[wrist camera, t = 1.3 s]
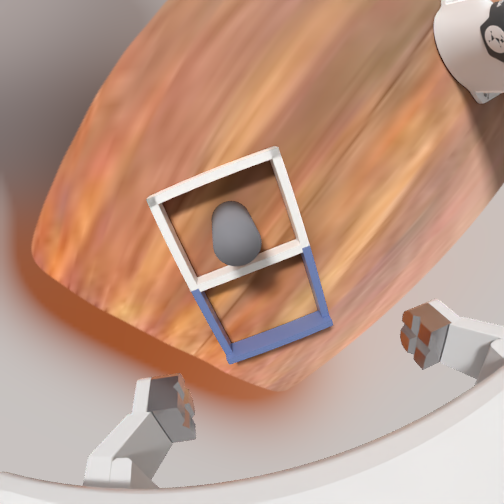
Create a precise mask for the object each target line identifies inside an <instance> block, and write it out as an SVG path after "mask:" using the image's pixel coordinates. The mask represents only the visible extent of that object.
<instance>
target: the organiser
mask: <svg viewBox="0 0 504 504" xmlns="http://www.w3.org/2000/svg"><path fill="white" fill-rule="evenodd" d="M268 160H270V162H271V165H272V168H273V171H274V174H275V177H276V180H277V182H278V185H279V188H280V191H281V194H282V197H283V200H284V203H285V206H286V209H287V212H288V215H289V218H290V221H291V224H292V227H293V231H294V234H295V237H296V239H295V240H292V241H290V242H287V243H285V244H282V245H280V246H277V247H274V248H272V249H269V250H267V251H264V252H262V253H259V254H258V255H257V257H256V258H255V259H254V260H253V261H251V262H250V263H248V264H246V265H243V266H230V265H228V266H226V267H223V268H220V269H218V270H215V271H213V272H210V273H208V274H205V275H202V276H200V277H197V276H196V274H195V272H194V270H193V268H192V266H191V264H190V262H189V260H188V258H187V255H186V253H185V251H184V249H183V247H182V245H181V243H180V241H179V239H178V237H177V234H176V232H175V230H174V228H173V226H172V224H171V222H170V219H169V217H168V215H167V213H166V211H165V208H164V206H163V204H162V202H164V201H167V200H169V199H171V198H174V197H176V196H178V195H181V194H183V193H185V192H188V191H190V190H193V189H195V188H197V187H200V186H202V185H205V184H207V183H210V182H212V181H215V180H217V179H220V178H222V177H225V176H227V175H230V174H232V173H235V172H238V171H240V170H243V169H246V168H248V167H251V166H254V165H256V164H259V163H262V162H265V161H268ZM146 201H147V203H148V205H149V207H150V209H151V211H152V214H153V216H154V218H155V220H156V222H157V224H158V226H159V229H160V231H161V233H162V235H163V237H164V239H165V241H166V243H167V245H168V247H169V249H170V251H171V253H172V255H173V257H174V259H175V261H176V263H177V265H178V267H179V269H180V271H181V273H182V275H183V277H184V279H185V281H186V283H187V285H188V287H189V289H190V290H191V292H192V294H193V296H194V298H195V300H196V302H197V304H198V306H199V307H200V309H201V311H202V313H203V315H204V317H205V318H206V320H207V322H208V324H209V326H210V327H211V329H212V331H213V333H214V335H215V336H216V338H217V340H218V342H219V343H220V345H221V347H222V349H223V350H224V352H225V354H226V358H227V361H228V363H229V365H230V364H233V363H236V362H239V361H241V360H244V359H247V358H250V357H253V356H256V355H259V354H261V353H264V352H267V351H270V350H272V349H275V348H278V347H280V346H283V345H285V344H288V343H291V342H293V341H296V340H298V339H301V338H303V337H306V336H308V335H311V334H313V333H316V332H318V331H320V330H323V329H325V328H328V327H330V326H332V325H333V322H332V319H331V318H330V316H329V313H328V309H327V305H326V301H325V298H324V294H323V290H322V287H321V283H320V279H319V276H318V272H317V269H316V265H315V262H314V258H313V255H312V251H311V248H310V245H309V241H308V238H307V235H306V231H305V228H304V225H303V221H302V218H301V215H300V212H299V209H298V205H297V202H296V199H295V196H294V193H293V190H292V187H291V184H290V181H289V178H288V175H287V172H286V169H285V166H284V163H283V160H282V157H281V154H280V151H279V148H278V147H276V146H273V147H270V148H267V149H264V150H262V151H259V152H256V153H253V154H250V155H248V156H245V157H242V158H240V159H237V160H234V161H232V162H229V163H226V164H224V165H221V166H219V167H216V168H214V169H211V170H209V171H206V172H204V173H201V174H199V175H196V176H194V177H192V178H189V179H187V180H184V181H182V182H180V183H177V184H175V185H173V186H170V187H168V188H166V189H164V190H161V191H159V192H157V193H155V194H152V195H150V196H149V197H148V198H147V199H146ZM300 253H301V256H302V259H303V262H304V266H305V269H306V272H307V275H308V279H309V282H310V285H311V289H312V292H313V295H314V299H315V302H316V306H317V309H318V311H316V312H313V313H311V314H309V315H306V316H304V317H301V318H299V319H296V320H294V321H291V322H289V323H286V324H283V325H281V326H278V327H276V328H273V329H270V330H268V331H265V332H262V333H260V334H257V335H254V336H252V337H249V338H246V339H243V340H241V341H238V342H235V343H231V341H230V340H229V338H228V336H227V334H226V332H225V330H224V328H223V327H222V325H221V323H220V321H219V319H218V317H217V315H216V313H215V311H214V309H213V307H212V306H211V304H210V302H209V300H208V298H207V296H206V294H205V292H204V290H207V289H210V288H212V287H215V286H217V285H220V284H223V283H225V282H228V281H230V280H233V279H236V278H238V277H241V276H243V275H246V274H249V273H251V272H254V271H256V270H259V269H262V268H264V267H267V266H269V265H272V264H274V263H277V262H279V261H282V260H285V259H287V258H290V257H292V256H295V255H297V254H300Z"/></svg>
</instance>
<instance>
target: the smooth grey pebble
mask: <svg viewBox="0 0 504 504" xmlns="http://www.w3.org/2000/svg"><path fill="white" fill-rule="evenodd" d="M212 234H213V248H214V252H215V254H216V256H217V257H218V258H219V260H221V261H222V262H223V263H225V264H227V265H230V266H243V265H246V264H248V263H250V262H251V261H253V260H254V259H255V258H256V257H257V255H258V254H259V252H260V249H261V237H260V234H259V232H258V230H257V228H256V226H255V224H254V222H253V220H252V218H251V216H250V214H249V212H248V210H247V209H246V208H245V206H243V205H242V204H241V203H239V202H235V201H227V202H224V203H222V204H220V205H219V206H218V207H217V208H216V209H215V210H214V212H213V215H212Z"/></svg>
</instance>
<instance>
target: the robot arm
mask: <svg viewBox="0 0 504 504" xmlns="http://www.w3.org/2000/svg"><path fill="white" fill-rule="evenodd" d="M434 35H435V40H436V44H437V47H438V50H439V53H440V55H441V57H442V59H443V61H444V63H445V65H446V66H447V68H448V70H449V71H450V72H451V74H452V75H453V76H454V77H455V79H456V80H457V81H458V82H459V83H461V84H462V85H463V86H464V87H466V88H467V89H468V90H469V91H470V93H471V94H472V96H473V97H474V99H475V100H476V101H477V102H478V103H479V104H482V103H486V102H488V101H489V100H491V99H493V98H494V97H496V96H498V95H499V94H501V93H504V0H501V1H499V2H495V3H493V2H492V1H490V0H441V8H440V10H439V11H438V12H437V14H436V16H435V19H434ZM402 321H403V322H404V326H403V327H402V329H401V334H400V338H401V343H402V345H403V347H404V349H405V350H406V351H407V352H408V353H411V354H414V360H415V362H416V363H417V364H418V365H419V366H420V367H421V368H422V370H423V369H426V368H428V367H430V366H432V365H434V364H436V363H438V362H440V363H442V364H444V365H446V366H448V367H451V368H453V369H456V370H457V371H460V372H462V373H464V374H467V375H469V376H471V377H473V378H476V379H477V381H476V383H475V385H474V387H472V388H471V389H469V390H468V391H466V392H464V393H463V394H461V395H460V396H458V397H457V398H455V399H453V400H452V401H450V402H448V403H447V404H445V405H443V406H442V407H440V408H438V409H436V410H434V411H433V412H431V413H429V414H427V415H425V416H424V417H422V418H420V419H418V420H416V421H414V422H412V423H410V424H408V425H406V426H404V427H402V428H400V429H398V430H395V431H393V432H391V433H389V434H387V435H384V436H382V437H380V438H377V439H375V440H373V441H371V442H368V443H365V444H363V445H360V446H358V447H355V448H353V449H350V450H347V451H345V452H342V453H339V454H336V455H333V456H330V457H327V458H324V459H321V460H318V461H315V462H312V463H308V464H305V465H301V466H298V467H294V468H290V469H286V470H283V471H279V472H274V473H270V474H265V475H261V476H257V477H251V478H246V479H240V480H234V481H228V482H222V483H214V484H207V485H197V486H187V487H175V488H174V487H173V488H159V487H158V486H157V485H155V484H154V483H153V482H152V481H151V479H152V477H153V476H154V474H155V473H156V471H157V469H158V468H159V466H160V464H161V462H162V461H163V459H164V458H165V456H166V454H167V452H168V451H169V449H170V448H171V446H172V443H174V442H181V441H188V440H194V439H196V430H195V423H194V421H193V419H192V417H193V416H194V415H195V410H194V403H193V399H192V397H191V393H190V392H189V389H187V388H185V381H184V379H183V377H182V375H181V374H180V373H178V374H171V375H163V376H157V377H151V378H143V379H139V380H138V381H137V384H136V390H135V395H134V401H133V407H132V414H127V415H126V417H125V418H124V419H123V420H122V421H121V422H120V423H119V424H118V425H117V426H116V427H115V428H114V430H113V431H112V432H111V433H110V434H109V435H108V436H107V437H106V438H105V439H104V440H103V442H101V444H100V445H99V446H98V447H97V448H96V449H95V450H94V451H93V452H92V453H91V454H90V455H89V456H88V461H87V466H86V471H85V477H84V483H83V486H79V485H71V484H62V483H56V482H50V481H44V480H38V479H34V478H29V477H24V476H20V475H16V474H12V473H8V472H0V504H504V326H501V325H496V324H492V323H488V322H484V321H480V320H475V319H471V318H467V317H463V318H461V317H460V316H458V315H457V314H456V313H455V312H453V311H452V310H451V309H450V308H448V307H447V306H446V305H444V304H443V303H442V302H441V301H440V300H438V299H433V300H430V301H428V302H426V303H424V304H421V305H419V306H417V307H414V308H412V309H409V310H407V311H405V312H404V313H403V316H402Z"/></svg>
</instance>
